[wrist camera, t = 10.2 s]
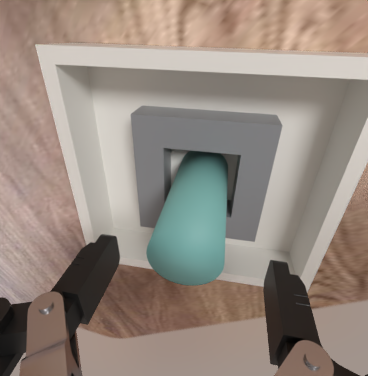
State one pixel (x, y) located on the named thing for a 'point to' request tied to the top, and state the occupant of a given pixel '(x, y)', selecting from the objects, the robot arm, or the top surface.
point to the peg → (192, 222)
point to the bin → (212, 142)
